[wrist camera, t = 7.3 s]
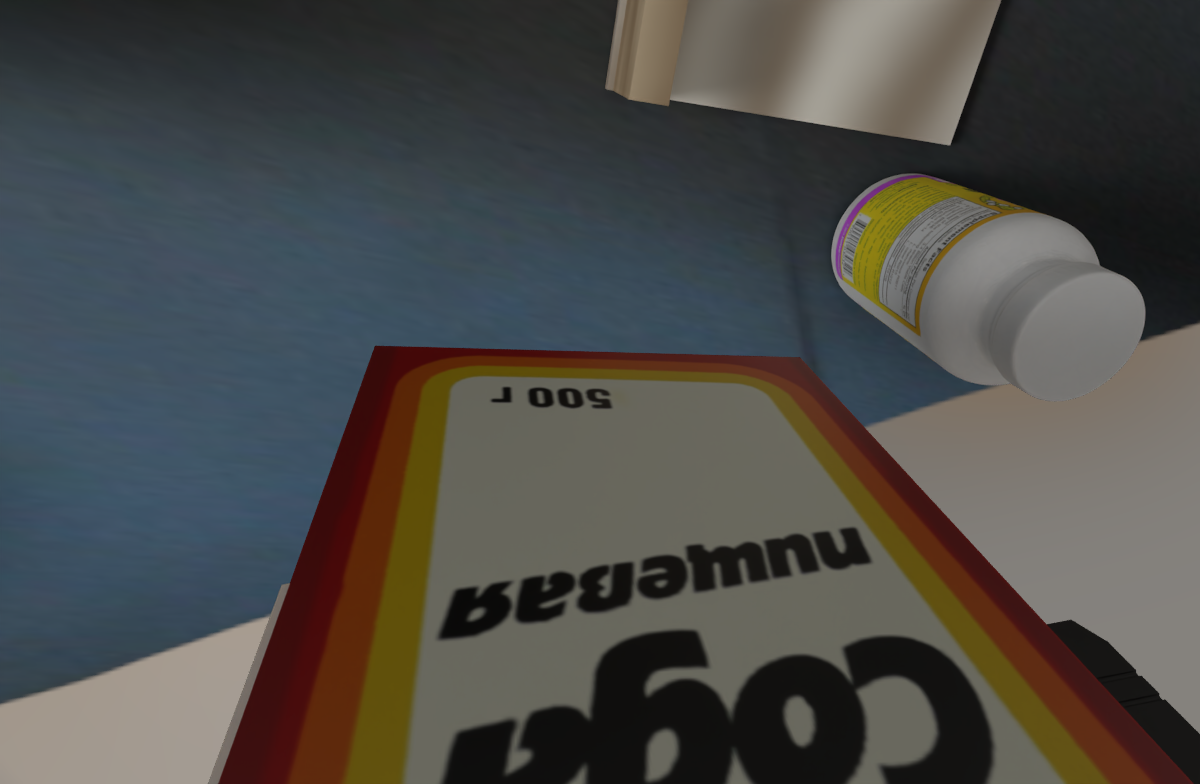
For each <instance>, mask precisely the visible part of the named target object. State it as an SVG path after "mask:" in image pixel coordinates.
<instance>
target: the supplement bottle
mask: <svg viewBox="0 0 1200 784" xmlns="http://www.w3.org/2000/svg"><path fill="white" fill-rule="evenodd" d="M831 259H832V266H833V271H834V274H835V277H836V279H837V281H838V283H839V285H840V287H841V288H842V289H843V290H844V292H845V293H846V294H847V295H848V296H849V297H850V298H852V299H853V300H854V301H855V302H857V303H858V304H859V305H860V306H862V307H863V308H864V309H865V310H867V311H868V312H869V313H871V314H872V315H873V316H875V317H876V318H877V319H879V320H880V321H882V322H883V323H884V324H886V325H887V326H888V327H890V328H891V329H892V330H894V331H895V332H896V333H898V334H899V335H900V336H902V337H903V338H904V339H906V340H907V341H908V342H910V343H911V344H912V345H914V346H915V347H916V348H918V349H919V350H920V351H922V352H923V353H924V354H926V355H927V356H928V357H929V358H931V359H932V360H933V361H935V362H936V363H937V364H939V365H940V366H941V367H943V368H944V369H945V370H947V371H948V372H949V373H951V374H953V375H954V376H956V377H958V378H960V379H963V380H965V381H968V382H972V383H976V384H983V385H1004V384H1010V383H1011V384H1013V385H1014V386H1016V387H1017V388H1019V389H1021V390H1022V391H1024V392H1025V393H1027V394H1029V395H1030V396H1032V397H1035V398H1037V399H1040V400H1045V401H1066V400H1070V399H1074V398H1078V397H1080V396H1083V395H1086V394H1088V393H1089V392H1091V391H1093V390H1095V389H1097V388H1098V387H1100V386H1101V385H1103V384H1104V383H1105V382H1107V381H1108V380H1109V379H1111V378H1112V377H1113V376H1114V375H1115V374H1116V373H1117V372H1118V371H1119V370H1120V369H1121V368H1122V367H1123V366H1124V364H1125V363H1126V362H1127V360H1128V359H1129V358H1130V356H1131V355H1132V354H1133V352H1134V350H1135V348H1136V347H1137V345H1138V343H1139V340H1140V338H1141V335H1142V332H1143V328H1144V323H1145V305H1144V301H1143V298H1142V295H1141V293H1140V291H1139V290H1138V288H1137V287H1136V286H1135V285H1134V284H1133V283H1132V282H1131V281H1130V280H1129V279H1127V278H1125V277H1124V276H1122V275H1120V274H1117V273H1115V272H1112V271H1110V270H1108V269H1105V268H1103V267H1101V266H1100V265H1099V261H1098V258H1097V255H1096V253H1095V251H1094V248H1093V247H1092V245H1091V244H1090V243H1089V241H1088V240H1087V239H1086V238H1085V236H1084V235H1083V234H1082V233H1081V232H1080V231H1078V230H1077V229H1076V228H1075V227H1073V226H1071V225H1070V224H1068V223H1066V222H1064V221H1062V220H1059V219H1057V218H1054V217H1052V216H1048V215H1045V214H1042V213H1039V212H1036V211H1033V210H1030V209H1027V208H1025V207H1021V206H1018V205H1015V204H1012V203H1010V202H1007V201H1004V200H1001V199H998V198H995V197H992V196H989V195H986V194H983V193H980V192H977V191H974V190H971V189H968V188H965V187H962V186H959V185H956V184H953V183H950V182H948V181H945V180H942V179H939V178H936V177H931V176H928V175H923V174H900V175H895V176H891V177H889V178H886V179H883V180H881V181H879V182H877V183H875V184H873V185H872V186H870V187H869V188H867V189H866V190H865V191H864V192H863V193H861V194H860V195H859V196H858V197H857V198H856V199H855V200H854V201H853V202H852V204H851V205H850V206H849V207H848V209H847V210H846V211H845V213H844V214H843V216H842V218H841V220H840V221H839V223H838V226H837V228H836V231H835V234H834V238H833V243H832V251H831Z"/></svg>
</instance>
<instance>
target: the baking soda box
mask: <svg viewBox="0 0 1200 784" xmlns="http://www.w3.org/2000/svg"><path fill="white" fill-rule="evenodd" d="M218 784H1193V782H1192V781H1191V780H1190V779H1189V778H1188V777H1187V776H1186V775H1185V774H1184V773H1183V772H1182V771H1181V769H1180V768H1179V767H1178V766H1177V765H1176V764H1175V763H1174V762H1173V761H1172V760H1171V759H1170V758H1169V756H1168V755H1167V754H1166V753H1165V752H1164V751H1163V750H1162V749H1161V748H1160V747H1159V746H1158V745H1157V744H1156V742H1155V741H1154V740H1153V739H1152V738H1151V737H1150V736H1149V735H1148V734H1147V733H1146V732H1145V731H1144V729H1143V728H1142V727H1141V726H1140V725H1139V724H1138V723H1137V722H1136V721H1135V720H1134V719H1133V718H1132V716H1131V715H1130V714H1129V713H1128V712H1127V711H1126V710H1125V709H1124V708H1123V707H1122V706H1121V705H1120V703H1119V702H1118V701H1117V700H1116V699H1115V698H1114V697H1113V696H1112V695H1111V694H1110V693H1109V692H1108V690H1107V689H1106V688H1105V687H1104V686H1103V685H1102V684H1101V683H1100V682H1099V681H1098V680H1097V679H1096V677H1095V676H1094V675H1093V674H1092V673H1091V672H1090V671H1089V670H1088V669H1087V668H1086V667H1085V666H1084V665H1083V663H1082V662H1081V661H1080V660H1079V659H1078V658H1077V657H1076V656H1075V655H1074V654H1073V653H1072V652H1071V650H1070V649H1069V648H1068V647H1067V646H1066V645H1065V644H1064V643H1063V642H1062V641H1061V640H1060V639H1059V637H1058V636H1057V635H1056V634H1055V633H1054V632H1053V631H1052V630H1051V629H1050V628H1049V627H1048V626H1047V624H1046V623H1045V622H1044V621H1043V620H1042V619H1041V618H1040V617H1039V616H1038V615H1037V614H1036V613H1035V611H1034V610H1033V609H1032V608H1031V607H1030V606H1029V605H1028V604H1027V603H1026V602H1025V601H1024V600H1023V599H1022V597H1021V596H1020V595H1019V594H1018V593H1017V592H1016V591H1015V590H1014V589H1013V588H1012V587H1011V586H1010V584H1009V583H1008V582H1007V581H1006V580H1005V579H1004V578H1003V577H1002V576H1001V575H1000V574H999V573H998V571H997V570H996V569H995V568H994V567H993V566H992V565H991V564H990V563H989V562H988V561H987V560H986V558H985V557H984V556H983V555H982V554H981V553H980V552H979V551H978V550H977V549H976V548H975V547H974V545H973V544H972V543H971V542H970V541H969V540H968V539H967V538H966V537H965V536H964V535H963V534H962V533H961V532H960V531H959V529H958V528H957V527H956V526H955V525H954V524H953V523H952V522H951V521H950V519H949V518H947V516H946V515H945V514H944V513H943V512H942V511H941V510H940V509H939V508H938V507H937V505H936V504H935V503H934V502H933V501H932V500H931V499H930V498H929V497H928V496H927V495H926V494H925V493H924V491H923V490H922V489H921V488H920V487H919V486H918V485H917V484H916V483H915V482H914V481H913V479H912V478H911V477H910V476H909V475H908V474H907V473H906V472H905V471H904V470H903V469H902V468H901V466H900V465H899V464H898V463H897V462H896V461H895V460H894V459H893V458H892V457H891V456H890V455H889V454H888V452H887V451H886V450H885V449H884V448H883V447H882V446H881V445H880V444H879V443H878V442H877V441H876V439H875V438H874V437H873V436H872V435H871V434H870V433H869V432H868V431H867V430H866V429H865V428H864V426H863V425H862V424H861V423H860V422H859V421H858V420H857V419H856V418H855V417H854V416H853V415H852V413H851V412H850V411H849V410H848V409H847V408H846V407H845V406H844V405H843V404H842V403H841V402H840V400H839V399H838V398H837V397H836V396H835V395H834V394H833V393H832V392H831V391H830V390H829V389H828V387H827V386H826V385H825V384H824V383H823V382H822V381H821V380H820V379H819V378H818V377H817V376H816V374H815V373H814V372H813V371H812V370H811V369H810V368H809V367H808V366H807V365H806V364H805V363H804V361H803V360H802V359H801V358H800V357H766V356H730V355H693V354H657V353H620V352H584V351H547V350H511V349H474V348H438V347H401V346H375V347H374V350H373V353H372V356H371V358H370V361H369V364H368V367H367V370H366V372H365V375H364V378H363V381H362V384H361V386H360V389H359V392H358V395H357V398H356V400H355V403H354V406H353V409H352V412H351V414H350V417H349V420H348V423H347V425H346V428H345V431H344V434H343V437H342V439H341V442H340V445H339V448H338V451H337V453H336V456H335V459H334V462H333V465H332V467H331V470H330V473H329V476H328V478H327V481H326V484H325V487H324V490H323V492H322V495H321V498H320V501H319V504H318V506H317V509H316V512H315V515H314V518H313V520H312V523H311V526H310V529H309V532H308V534H307V537H306V540H305V543H304V545H303V548H302V551H301V554H300V557H299V559H298V562H297V565H296V568H295V571H294V573H293V576H292V579H291V582H290V585H289V587H288V590H287V593H286V596H285V598H284V601H283V604H282V607H281V610H280V612H279V615H278V618H277V621H276V624H275V626H274V629H273V632H272V635H271V638H270V640H269V643H268V646H267V649H266V652H265V654H264V657H263V660H262V663H261V665H260V668H259V671H258V674H257V677H256V679H255V682H254V685H253V688H252V691H251V693H250V696H249V699H248V702H247V705H246V707H245V710H244V713H243V716H242V718H241V721H240V724H239V727H238V730H237V732H236V735H235V738H234V741H233V744H232V746H231V749H230V752H229V755H228V758H227V760H226V763H225V766H224V769H223V772H222V774H221V777H220V780H219V783H218Z"/></svg>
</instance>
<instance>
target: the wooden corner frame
mask: <svg viewBox="0 0 1200 784" xmlns="http://www.w3.org/2000/svg"><path fill="white" fill-rule="evenodd" d="M1000 2H1001V0H618V5H617V12H616V19H615V25H614V32H613V39H612V46H611V52H610V59H609V66H608V72H607V79H606V86H605V89H607V90H613V91H615V92H617V93H619V94H620V95H622V96H624V97H626V98H627V99H629V100H635V101H641V102H648V103H654V104H660V105H666V106H669V101H670V100H675V101H681V102H687V103H693V104H699V105H705V106H712V107H718V108H724V109H730V110H736V111H742V112H748V113H754V114H761V115H767V116H773V117H779V118H785V119H791V120H797V121H804V122H810V123H816V124H822V125H828V126H834V127H840V128H847V129H853V130H859V131H865V132H871V133H877V134H883V135H889V136H896V137H902V138H908V139H914V140H920V141H926V142H932V143H939V144H945V145H950V144H951V141H952V138H953V136H954V133H955V130H956V127H957V124H958V121H959V119H960V116H961V113H962V110H963V107H964V104H965V102H966V99H967V96H968V93H969V90H970V87H971V85H972V82H973V79H974V76H975V73H976V70H977V68H978V65H979V62H980V59H981V56H982V53H983V51H984V48H985V45H986V42H987V39H988V36H989V33H990V31H991V28H992V25H993V22H994V19H995V16H996V14H997V11H998V8H999V5H1000Z"/></svg>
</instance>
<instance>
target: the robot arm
mask: <svg viewBox="0 0 1200 784" xmlns="http://www.w3.org/2000/svg"><path fill="white" fill-rule="evenodd" d="M289 585H290V584H284V585H282V586H281V589H280V591H279V594H278V597H277V599H276V602H275V605H274V607H273V610H272V613H271V615H270V618H269V621H268V624H267V626H266V629H265V632H264V634H263V637H262V640H261V642H260V645H259V648H258V651H257V653H256V656H255V659H254V661H253V664H252V667H251V669H250V672H249V675H248V677H247V680H246V683H245V685H244V688H243V691H242V693H241V696H240V699H239V702H238V704H237V707H236V710H235V712H234V715H233V718H232V720H231V723H230V726H229V729H228V731H227V734H226V736H225V739H224V742H223V745H222V747H221V750H220V753H219V755H218V758H217V761H216V763H215V766H214V769H213V772H212V774H211V777H210V779H209V782H208V784H218V783H219V780H220V777H221V774H222V772H223V769H224V766H225V763H226V760H227V758H228V755H229V752H230V749H231V746H232V744H233V741H234V738H235V735H236V732H237V730H238V727H239V724H240V721H241V718H242V716H243V713H244V710H245V707H246V705H247V702H248V699H249V696H250V693H251V691H252V688H253V685H254V682H255V679H256V677H257V674H258V671H259V668H260V665H261V663H262V660H263V657H264V654H265V652H266V649H267V646H268V643H269V640H270V638H271V635H272V632H273V629H274V626H275V624H276V621H277V618H278V615H279V612H280V610H281V607H282V604H283V601H284V598H285V596H286V593H287V590H288V587H289ZM1047 626H1048V627H1049V628H1050V629H1051V630H1052V631H1053V632H1054V633H1055V634H1056V635H1057V636H1058V637H1059V639H1060V640H1061V641H1062V642H1063V643H1064V644H1065V645H1066V646H1067V647H1068V648H1069V649H1070V650H1071V652H1072V653H1073V654H1074V655H1075V656H1076V657H1077V658H1078V659H1079V660H1080V661H1081V662H1082V663H1083V665H1084V666H1085V667H1086V668H1087V669H1088V670H1089V671H1090V672H1091V673H1092V674H1093V675H1094V676H1095V677H1096V679H1097V680H1098V681H1099V682H1100V683H1101V684H1102V685H1103V686H1104V687H1105V688H1106V689H1107V690H1108V692H1109V693H1110V694H1111V695H1112V696H1113V697H1114V698H1115V699H1116V700H1117V701H1118V702H1119V703H1120V705H1121V706H1122V707H1123V708H1124V709H1125V710H1126V711H1127V712H1128V713H1129V714H1130V715H1131V716H1132V718H1133V719H1134V720H1135V721H1136V722H1137V723H1138V724H1139V725H1140V726H1141V727H1142V728H1143V729H1144V731H1145V732H1146V733H1147V734H1148V735H1149V736H1150V737H1151V738H1152V739H1153V740H1154V741H1155V742H1156V744H1157V745H1158V746H1159V747H1160V748H1161V749H1162V750H1163V751H1164V752H1165V753H1166V754H1167V755H1168V756H1169V758H1170V759H1171V760H1172V761H1173V762H1174V763H1175V764H1176V765H1177V766H1178V767H1179V768H1180V769H1181V771H1182V772H1183V773H1184V774H1185V775H1186V776H1187V777H1188V778H1189V779H1190V780H1191V781H1192V782H1193V784H1200V734H1199V733H1198V732H1197V731H1196V730H1195V729H1194V728H1193V727H1192V726H1191V725H1190V724H1189V723H1188V722H1187V721H1186V720H1185V719H1184V718H1183V717H1182V716H1181V715H1180V714H1179V713H1178V712H1177V711H1176V710H1175V709H1174V708H1173V707H1172V706H1171V705H1170V704H1169V703H1168V702H1167V701H1166V700H1162V699H1161V698H1160V696H1159V693H1158V692H1157V691H1156V690H1155V689H1154V688H1153V687H1152V686H1151V685H1150V684H1149V683H1148V682H1147V681H1146V680H1145V679H1144V678H1143V677H1142V676H1138V675H1137V673H1136V670H1135V669H1134V668H1133V667H1132V666H1131V665H1130V664H1129V663H1128V662H1127V661H1126V660H1125V659H1124V658H1123V657H1122V656H1121V655H1120V654H1119V653H1118V652H1117V651H1116V650H1115V649H1114V648H1113V647H1112V646H1111V645H1110V644H1109V643H1108V642H1107V641H1105V640H1104V639H1102V638H1100V637H1099V636H1097V635H1096V634H1094V633H1092V632H1091V631H1089V630H1087V629H1085V628H1084V627H1082V626H1081V625H1079V624H1077V623H1076V622H1074V621H1072V620H1067V621H1062V622H1057V623H1052V624H1047Z"/></svg>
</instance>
